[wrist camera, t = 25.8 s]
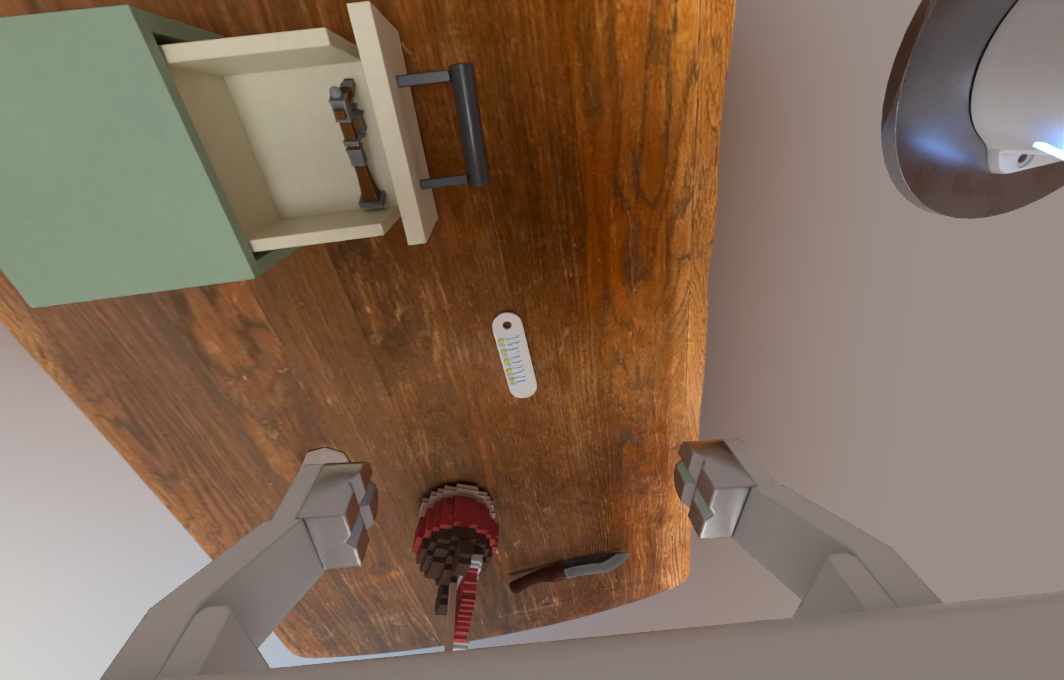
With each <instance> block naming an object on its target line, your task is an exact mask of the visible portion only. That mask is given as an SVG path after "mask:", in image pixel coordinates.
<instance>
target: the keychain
mask: <svg viewBox="0 0 1064 680" xmlns="http://www.w3.org/2000/svg"><path fill="white" fill-rule="evenodd" d="M506 321H508V322H510V323H511V326H510V327H509V328H505V327H503V323H504V322H506ZM492 330H493V333H494V337H495V340H496V344H497V347H498V351H499V355H500V358H501V362H502V365H503V369H504V372H505V376H506V379H507V383H508V386H509V390H510V392H511V394H513V395H514V396H515V397H518V398H527V397H529V396H531V395H532V394H534V392H535V391H536V388H537V383H536V379H535V374H534V370H533V366H532V362H531V358H530V354H529V349H528V345H527V341H526V337H525V333H524V329H523V324H522V321H521V319H520V317H519V316H518V315H517V314H515V313H513V312H502V313H500V314H498V315H497V316H496V317H495V318H494V320H493V323H492Z"/></svg>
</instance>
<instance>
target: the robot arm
mask: <svg viewBox="0 0 1064 680" xmlns="http://www.w3.org/2000/svg"><path fill="white" fill-rule="evenodd" d="M971 115H972V120H973V124H974V127H975V129H976V131H977V133H978V135H979V136H980V137H981V139H982V140H983V141H984V143H985V145H986V147H987V161H988V168H989V171H990V172H991V173H993V174H1008V173H1013V172H1017V171H1021V170H1025V169H1030V168H1034V167H1038V166H1043V165H1047V164H1051V163H1055V162H1060V161H1064V0H1019V1H1018V2H1017V3H1016V4H1015V6H1014V7H1013V8H1012V9H1011V11H1010V12H1009V13H1008V15H1007V16H1006V17H1005V19H1004V20H1003V22H1002V23H1001V24H1000V26H999V28H998V29H997V31H996V32H995V34H994V36H993V37H992V39H991V41H990V43H989V45H988V47H987V49H986V51H985V53H984V55H983V57H982V60H981V62H980V65H979V67H978V70H977V73H976V77H975V80H974V84H973V90H972V96H971ZM679 455H680V457H681V458H682V460H681V461H679V462H678V463H677V464H676V465H675V471H674V483H675V488H676V491H677V494H678V496H679V498H680V500H681V501H682V502H683V503H684V504H686V505H687V506H688V507H690V511H689V514H688V516H689V518H690V520H691V522H692V524H693V526H694V528H695V530H696V532H697V534H698V536H699V538H700V539H703V538H722V537H733V538H732V539H733V540H734V541H735V542H737V543H738V544H739V545H740V546H741V547H742V548H743V549H744V550H746V551H747V552H748V553H749V554H750V555H751V556H752V557H754V558H755V559H756V560H757V561H758V562H759V563H760V564H762V565H763V566H764V567H765V568H766V569H767V570H768V571H770V572H771V573H772V574H773V575H774V576H775V577H776V578H778V579H779V580H780V581H781V582H782V583H783V584H784V585H786V586H787V587H788V588H789V589H790V590H791V591H792V592H794V593H795V594H796V595H797V596H798V597H799V598H801V599H802V602H801V603H800V605H799V607H798V609H797V610H796V612H795V614H794V616H793V618H786V619H775V620H765V621H754V622H745V623H735V624H724V625H713V626H703V627H692V628H683V629H672V630H661V631H651V632H641V633H631V634H620V635H610V636H599V637H589V638H579V639H568V640H558V641H548V642H538V643H528V644H518V645H507V646H497V647H487V648H477V649H466V650H456V651H446V652H436V653H425V654H415V655H405V656H395V657H384V658H374V659H364V660H353V661H343V662H333V663H323V664H313V665H302V666H292V667H281V668H271V669H270V667H269V665H268V664H267V662H266V661H265V660H264V658H263V657H262V655H261V653H260V652H259V650H258V647H259V646H260V645H261V644H262V643H263V642H264V641H265V639H266V638H267V637H268V636H269V635H270V634H271V633H272V631H273V630H274V629H275V628H276V627H277V626H278V625H279V623H280V622H281V621H282V620H283V619H284V618H285V616H286V615H287V614H288V613H289V612H290V611H291V610H292V608H293V607H294V606H295V605H296V604H297V603H298V602H299V600H300V599H301V598H302V597H303V596H304V595H305V594H306V592H307V591H308V590H309V589H310V588H311V587H312V586H313V584H314V583H315V582H316V581H317V580H318V579H319V578H320V576H321V575H322V574H323V573H324V570H326V569H335V568H345V567H354V566H361V565H362V562H363V559H364V555H365V552H366V549H367V545H368V542H369V537H368V534H367V530H368V529H369V528H370V527H371V526H372V525H373V524H374V522H375V518H376V514H377V507H378V492H377V488H376V485H375V484H374V483H373V482H371V481H370V478H371V475H372V469H371V466H370V463H369V462H343V463H326V464H305V465H304V466H303V467H302V468H300V470H299V471H298V473H297V475H296V477H295V479H294V480H293V482H292V484H291V486H290V488H289V489H288V491H287V493H286V495H285V497H284V498H283V500H282V502H281V504H280V506H279V507H278V509H277V511H276V513H275V515H274V516H273V518H272V520H271V521H266V522H263V523H262V524H261V525H259V526H258V527H257V528H255V529H254V530H253V531H251V532H250V533H249V534H247V535H246V536H245V537H243V538H242V539H241V540H240V541H238V542H237V543H236V544H234V545H233V546H232V547H230V548H229V549H228V550H226V551H225V552H224V553H222V554H221V555H220V556H219V557H217V558H216V559H215V560H213V561H212V562H211V563H210V564H208V565H207V566H205V567H204V568H203V569H201V570H200V571H199V572H198V573H196V574H195V575H194V576H192V577H191V578H190V579H188V580H187V581H186V582H185V583H183V584H182V585H180V586H179V587H178V588H177V589H175V590H174V591H173V592H171V593H170V594H169V595H167V596H166V597H165V598H163V599H162V600H161V601H159V602H158V603H157V604H156V605H154V606H153V607H152V608H150V609H149V610H148V612H147V613H146V615H145V616H144V617H143V619H142V620H141V622H140V623H139V625H138V626H137V627H136V629H135V630H134V632H133V633H132V634H131V636H130V637H129V639H128V640H127V642H126V643H125V644H124V646H123V647H122V649H121V650H120V652H119V653H118V654H117V656H116V658H115V659H114V660H113V662H112V663H111V664H110V666H109V667H108V669H107V670H106V671H105V673H104V674H103V676H102V677H101V679H100V680H1064V592H1052V593H1042V594H1032V595H1021V596H1011V597H1001V598H992V599H981V600H970V601H960V602H950V603H943V602H942V601H940V599H939V598H938V597H937V596H936V595H935V594H934V593H933V592H932V590H931V589H930V588H929V587H928V586H927V585H926V584H925V583H924V582H923V581H922V580H921V579H920V578H919V576H917V574H916V573H915V572H914V571H913V570H912V569H911V568H910V567H909V566H908V565H907V564H906V562H905V561H904V560H903V559H902V558H901V557H900V556H899V555H898V554H897V553H896V552H895V551H894V550H893V548H892V547H890V546H888V545H887V544H885V543H883V542H881V541H880V540H878V539H876V538H875V537H873V536H871V535H869V534H868V533H866V532H864V531H862V530H861V529H859V528H857V527H855V526H854V525H852V524H850V523H848V522H847V521H845V520H843V519H841V518H840V517H838V516H836V515H835V514H833V513H831V512H829V511H828V510H826V509H824V508H822V507H821V506H819V505H817V504H816V503H814V502H812V501H811V500H809V499H807V498H805V497H803V496H802V495H800V494H798V493H797V492H795V491H793V490H791V489H790V488H788V487H786V486H784V485H777V483H776V482H775V481H774V480H773V478H772V477H771V476H770V475H769V473H768V472H767V471H766V469H765V468H764V467H763V466H762V464H761V463H760V462H759V460H758V459H757V458H756V457H755V455H754V454H753V453H752V452H751V450H750V449H749V448H748V446H747V445H746V444H745V443H744V441H743V440H741V439H739V438H731V439H720V440H705V441H690V442H683V443H682V444H681V446H680V449H679Z"/></svg>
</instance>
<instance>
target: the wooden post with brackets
mask: <svg viewBox="0 0 1064 680" xmlns="http://www.w3.org/2000/svg"><path fill="white" fill-rule="evenodd" d="M355 88H356V86H355V82H354V79H353V78H345V79H344V81H343V82H341V84H340V88H338V87H337V86H332V87H331V88H330V89H329V93H330V98H329V101H328V102H329V103H330V105H331V108H332V111H333V113H334V116H335V120H336V123H339V124H340V127H341V130H342V134H343V137H344V140H343V144H344V147H346V146H347V148H346V150H345V151H346V152H347V154H348V156H349V159H350V161H351V166H354V168H355V171H356V174H357V178H358V182H359V186H360V190H361V196H360V200H359V206H360V208H359V209H369V208H384V205H385V200H386V195H387V194H386V193H385V190H379V189H378V187H377V185H376V183H375V181H374V179H373V177H372V175H371V173H370V170H369V168H368V165H367V159H368V158H367V157H366V155H365V152H364V148H363V143H360V142H361V138H364V137H365V136H366V130H367V125H366V123H365V121H364V118H363V113H364V110H360V109H357V103H354V102H353V100H354V96H355ZM352 98H353V99H352Z"/></svg>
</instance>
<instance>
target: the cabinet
mask: <svg viewBox="0 0 1064 680" xmlns="http://www.w3.org/2000/svg"><path fill="white" fill-rule="evenodd" d="M220 38H229V37H225V36H222V35H219V34H216V33H213V32H210V31H207V30H204V29H201V28H198V27H195V26H192V25H189V24H185V23H182V22H179V21H176V20H173V19H170V18H167V17H164V16H161V15H158V14H155V13H152V12H148V11H145V10H142V9H140V8H137V7H134V6H131V5H128V4H126V5H116V6H107V7H97V8H87V9H77V10H68V11H58V12H48V13H39V14H29V15H19V16H10V17H0V269H1V270H2V271H3V273H4V274H5V275H6V276H7V278H8V279H9V280H10V281H11V283H12V284H13V285H14V287H15V288H16V289H17V290H18V292H19V293H20V294H21V296H22V297H23V298H24V299H25V301H26V302H27V303H28V304H29V306H30V307H31V308H37V307H45V306H52V305H60V304H68V303H75V302H83V301H90V300H98V299H105V298H113V297H120V296H128V295H135V294H143V293H151V292H158V291H166V290H173V289H181V288H188V287H196V286H203V285H211V284H219V283H226V282H234V281H241V280H249V279H255V278H257V277H258V276H260V275H261V274H263V273H264V272H265V271H267V270H268V269H270V268H271V267H273V266H274V265H276V264H277V263H278V262H280V261H281V260H283V259H284V258H286V257H287V256H289V255H290V254H291V253H293V252H294V251H296V250H297V249H299V248H300V247H302V246H297V247H289V248H282V249H274V250H266V251H259V252H252V251H251V249H250V247H249V245H248V243H247V240H246V238H245V236H244V234H243V232H242V229H241V227H240V225H239V223H238V221H237V218H236V216H235V214H234V212H233V210H232V207H231V205H230V203H229V201H228V199H227V196H226V194H225V192H224V190H223V188H222V185H221V183H220V181H219V179H218V177H217V174H216V172H215V170H214V168H213V166H212V163H211V161H210V159H209V157H208V155H207V152H206V150H205V148H204V146H203V144H202V141H201V139H200V137H199V135H198V133H197V130H196V128H195V126H194V124H193V122H192V119H191V117H190V115H189V113H188V111H187V108H186V106H185V104H184V102H183V100H182V97H181V95H180V93H179V91H178V89H177V86H176V84H175V82H174V80H173V78H172V76H171V73H170V71H169V69H168V67H167V65H166V62H165V60H164V58H163V56H162V54H161V51H160V49H159V47H158V45H164V44H174V43H183V42H192V41H202V40H211V39H220Z"/></svg>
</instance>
